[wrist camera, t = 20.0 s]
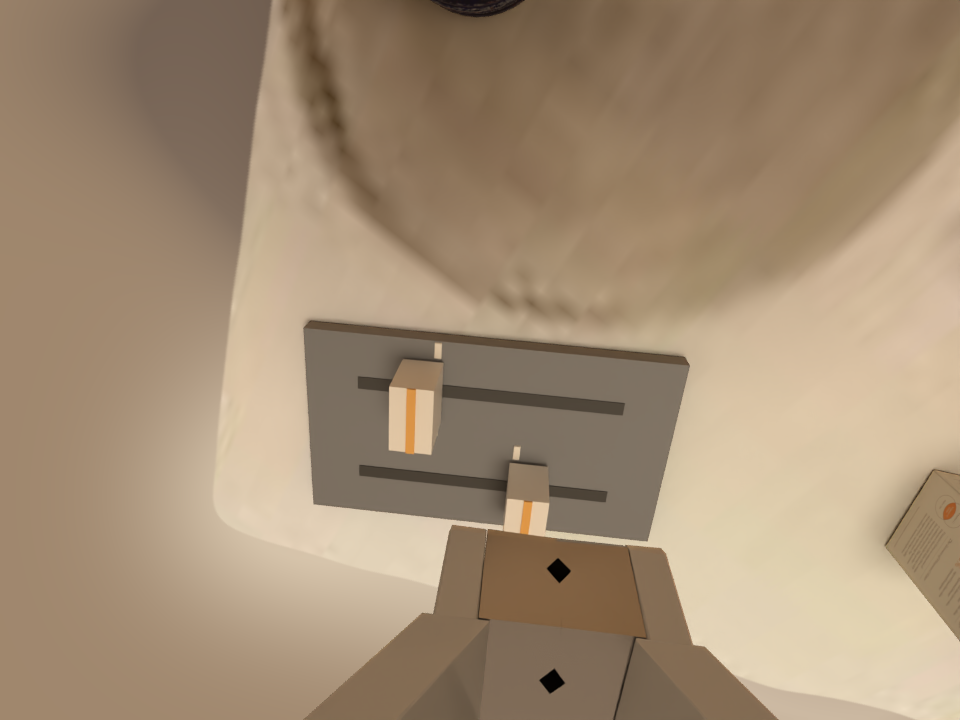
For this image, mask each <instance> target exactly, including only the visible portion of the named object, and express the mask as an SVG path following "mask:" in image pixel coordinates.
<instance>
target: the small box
mask: <svg viewBox="0 0 960 720" xmlns="http://www.w3.org/2000/svg"><path fill="white" fill-rule="evenodd" d="M886 548H887V549H888V551H889V552H890V553H891V555H892V556H893V557H894V558H895V560H896V561H897V562H898V563H899V565H900V566H901V567H902V568H903V570H904V571H905V572H906V574H907V575H908V576H909V577H910V579H911V580H912V581H913V583H914V584H915V585H916V586H917V588H918V589H919V590H920V591H921V593H922V594H923V595H924V597H925V598H926V599H927V600H928V602H929V603H930V604H931V605H932V607H933V608H934V609H935V610H936V612H937V613H938V614H939V615H940V617H941V618H942V619H943V620H944V622H945V623H946V624H947V626H948V627H949V628H950V629H951V631H952V632H953V633H954V634H955V636H956V637H957V638H958V640H959V641H960V475H956V474H952V473H947V472H942V471H937V470H934V471H933V472H932V474H931V475H930V477H929V479H928V480H927V482H926V483H925V485H924V487H923V488H922V490H921V491H920V493H919V495H918V496H917V498H916V499H915V501H914V502H913V504H912V506H911V507H910V509H909V510H908V512H907V514H906V515H905V517H904V518H903V520H902V522H901V523H900V525H899V526H898V528H897V529H896V531H895V533H894V534H893V536H892V538H891V539H890V541H889V542H888V544H887V545H886Z"/></svg>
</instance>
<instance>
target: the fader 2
mask: <svg viewBox="0 0 960 720" xmlns="http://www.w3.org/2000/svg"><path fill="white" fill-rule="evenodd" d="M548 510H549V478H548V467H545V466H535V465H526V464H517V463H510V464H509V473H508V483H507V492H506V501H505V510H504V522H503V531H506V532H514V533H521V534H528V535H536V536H543V537H545V530H546V523H547V517H548Z"/></svg>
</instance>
